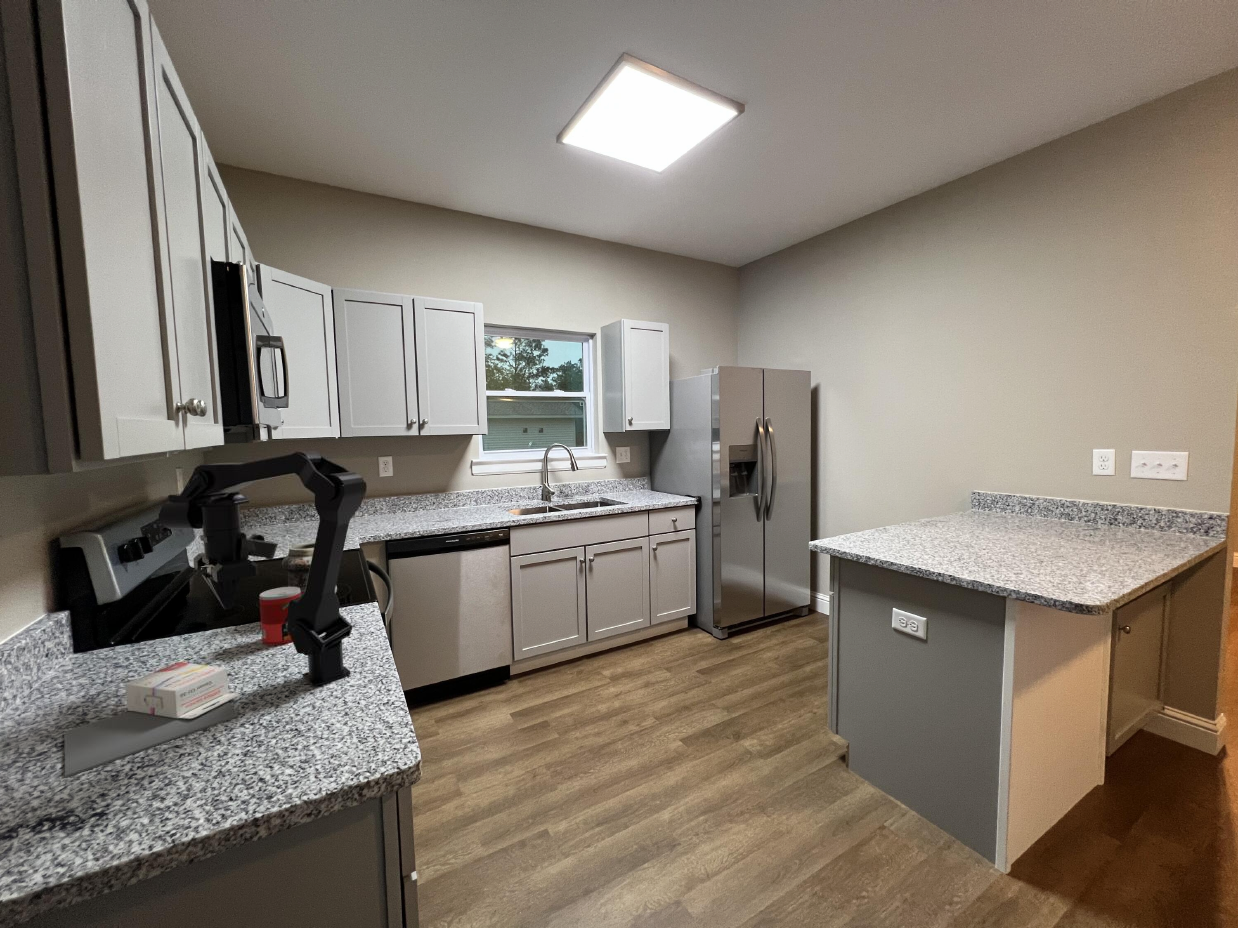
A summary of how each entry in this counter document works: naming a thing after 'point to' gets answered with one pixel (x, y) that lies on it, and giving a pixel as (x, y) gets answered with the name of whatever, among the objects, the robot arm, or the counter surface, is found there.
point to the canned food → (276, 614)
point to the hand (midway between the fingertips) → (228, 608)
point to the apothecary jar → (299, 565)
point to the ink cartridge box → (179, 691)
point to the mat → (131, 735)
